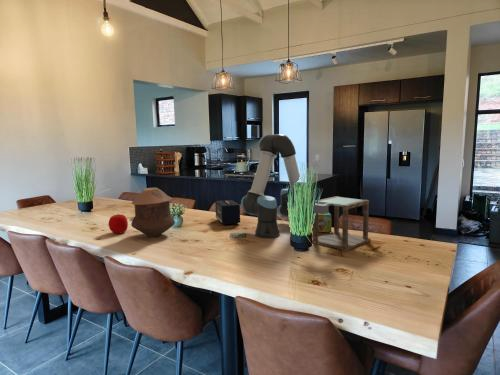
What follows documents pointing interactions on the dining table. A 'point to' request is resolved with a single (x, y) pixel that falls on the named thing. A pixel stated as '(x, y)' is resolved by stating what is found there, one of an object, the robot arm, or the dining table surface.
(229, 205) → the speaker
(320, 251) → the dining table surface
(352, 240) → the stand
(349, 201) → the trapdoor
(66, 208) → the dining table surface
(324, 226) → the chalk box
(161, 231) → the pottery vessel
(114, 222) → the tomato
